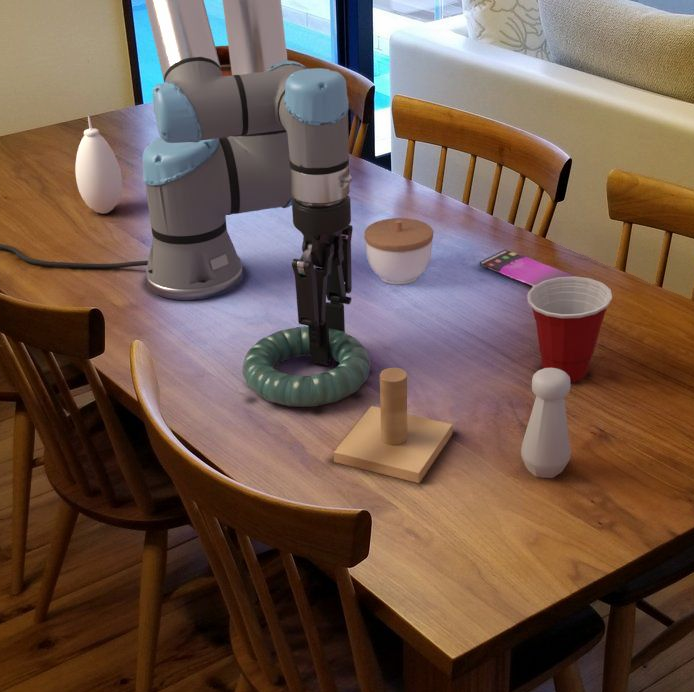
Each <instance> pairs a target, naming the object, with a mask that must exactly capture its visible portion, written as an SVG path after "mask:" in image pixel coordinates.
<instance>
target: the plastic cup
mask: <svg viewBox="0 0 694 692" xmlns="http://www.w3.org/2000/svg"><path fill="white" fill-rule="evenodd" d="M575 276H576V275H575ZM575 276H574V277H558V278H554V279H549V280H545V281H543V282H541V283H539V284H537V285H535V286H531V288H530V289H529V291H528V292H527V293H526V297H527V298H526V299H527V303H528V305H529V306H530V307H531V309H532V313H533V315H534V320H535V324H536V331H537V339H538V347H539V353H540V358H541V359H540V360H541V367H542V368H541V369H544V368H557V369H560V370H562V371H564V372H566V373H567V374H568V376H569V377H570V384H571V383H576V382H579V381H581V380H583V379H584V378H585V376H586V374H587V372H588V370H589V367H590V364H591V360H592V357H593V355H594V352H595V349H596V345H597V343H598V339H599V338H598V337H599V334H600V330H601V327H602V324H603V320H604V319H605V315H606V312H607V308H608V306H609V305H610V303H611V302H612V299H613V293H612V290H611V288H610V287H608V286H607V285H606V284H605V283H603V282H601V281H598V280H595V279H593V278H590V277H582V276H577V277H575Z"/></svg>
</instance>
